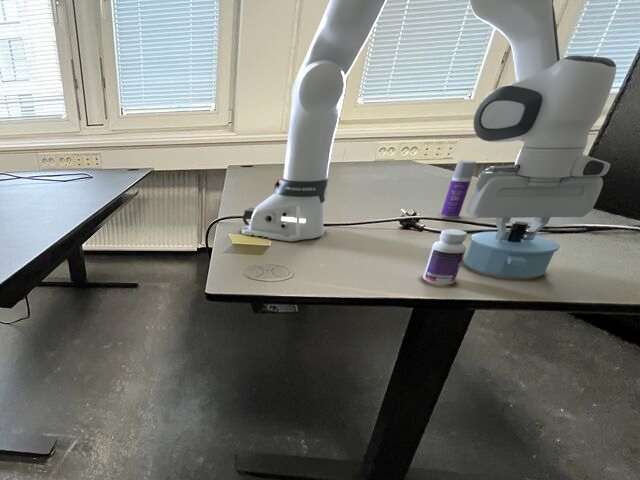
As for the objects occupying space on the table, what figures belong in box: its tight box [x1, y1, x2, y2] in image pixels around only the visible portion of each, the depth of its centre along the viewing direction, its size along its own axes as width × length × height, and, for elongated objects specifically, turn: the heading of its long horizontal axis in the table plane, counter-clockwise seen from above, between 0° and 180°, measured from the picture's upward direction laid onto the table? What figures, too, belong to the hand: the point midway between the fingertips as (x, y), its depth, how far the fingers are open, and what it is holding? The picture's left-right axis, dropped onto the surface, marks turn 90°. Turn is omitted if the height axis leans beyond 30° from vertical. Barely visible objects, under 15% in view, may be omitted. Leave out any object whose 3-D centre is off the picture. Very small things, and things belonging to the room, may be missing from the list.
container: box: [440, 160, 477, 219], centre depth 119 cm, size 5×5×15 cm
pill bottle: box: [422, 229, 468, 285], centre depth 78 cm, size 5×5×10 cm
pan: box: [463, 240, 555, 278], centre depth 84 cm, size 13×19×5 cm
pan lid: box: [470, 221, 560, 254], centre depth 81 cm, size 14×14×5 cm
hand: (513, 239), depth 82 cm, fingers open, 3 cm apart
